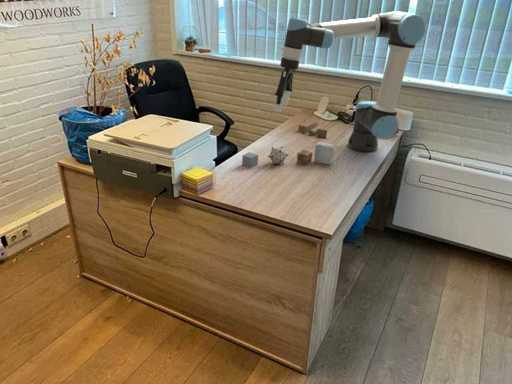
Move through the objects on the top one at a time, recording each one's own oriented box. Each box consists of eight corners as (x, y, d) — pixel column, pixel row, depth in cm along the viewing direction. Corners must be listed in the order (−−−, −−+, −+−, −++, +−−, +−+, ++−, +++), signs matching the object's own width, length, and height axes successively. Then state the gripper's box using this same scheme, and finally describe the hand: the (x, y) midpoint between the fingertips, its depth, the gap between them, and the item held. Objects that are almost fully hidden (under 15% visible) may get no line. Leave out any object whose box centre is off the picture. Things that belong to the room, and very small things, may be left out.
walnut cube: (311, 162, 201) (312, 152, 198) (306, 165, 197) (307, 155, 195) (301, 159, 203) (302, 149, 201) (296, 163, 199) (297, 152, 197)
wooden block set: (297, 123, 235) (312, 116, 249) (297, 133, 238) (311, 125, 251) (326, 129, 227) (340, 121, 240) (325, 139, 229) (338, 131, 243)
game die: (280, 172, 198) (286, 161, 189) (263, 164, 198) (268, 153, 189) (286, 158, 202) (292, 146, 194) (270, 150, 202) (275, 138, 193)
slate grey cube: (257, 164, 196) (258, 154, 194) (251, 168, 192) (251, 158, 190) (248, 162, 198) (248, 152, 196) (242, 165, 194) (242, 155, 192)
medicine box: (333, 162, 201) (335, 144, 197) (330, 165, 198) (332, 147, 194) (316, 158, 204) (318, 141, 200) (313, 162, 201) (315, 144, 197)
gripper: (288, 54, 190) (279, 101, 199) (274, 58, 168) (265, 111, 176) (304, 57, 188) (294, 105, 197) (293, 63, 166) (282, 116, 175)
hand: (280, 108), depth 187 cm, fingers open, 13 cm apart
